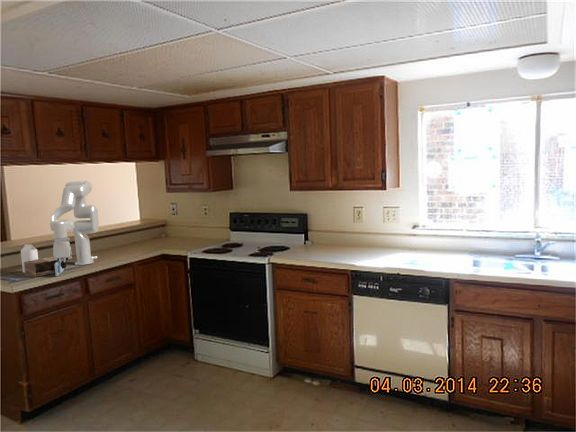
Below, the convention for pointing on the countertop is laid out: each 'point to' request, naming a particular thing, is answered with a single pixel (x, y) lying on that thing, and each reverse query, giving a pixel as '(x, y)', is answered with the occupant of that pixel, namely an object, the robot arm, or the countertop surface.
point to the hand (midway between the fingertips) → (63, 268)
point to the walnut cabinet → (40, 267)
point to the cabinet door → (58, 268)
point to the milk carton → (28, 254)
